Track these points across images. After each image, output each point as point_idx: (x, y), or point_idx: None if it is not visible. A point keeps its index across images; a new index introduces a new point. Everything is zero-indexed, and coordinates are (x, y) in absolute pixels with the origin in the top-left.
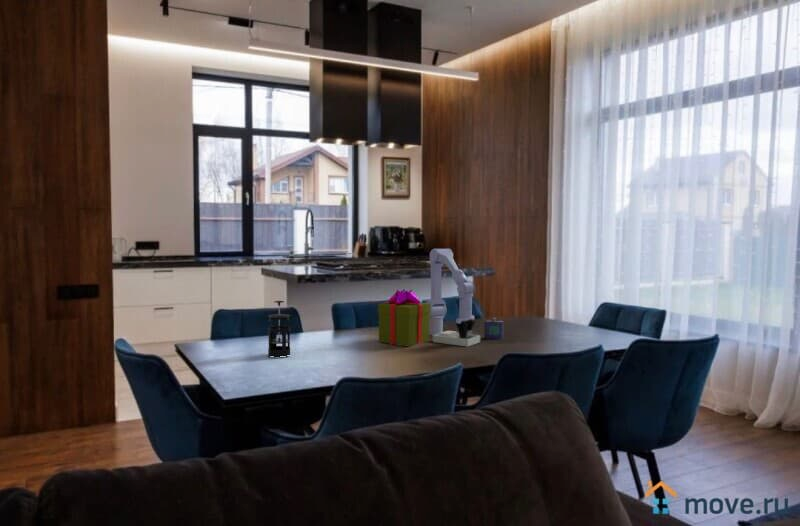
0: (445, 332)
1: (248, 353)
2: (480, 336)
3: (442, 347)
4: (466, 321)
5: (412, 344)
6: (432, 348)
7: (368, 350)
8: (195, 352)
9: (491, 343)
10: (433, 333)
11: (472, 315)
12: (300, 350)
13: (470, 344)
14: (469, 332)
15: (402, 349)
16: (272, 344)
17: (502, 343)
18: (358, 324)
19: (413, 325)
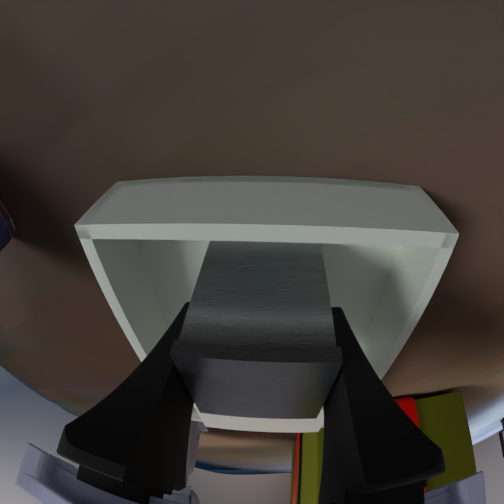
0: (281, 425)
1: (495, 427)
2: (81, 217)
3: (448, 321)
4: (169, 486)
5: (440, 396)
6: (475, 337)
7: (494, 398)
8: (485, 438)
9: (58, 98)
10: (193, 423)
11: (37, 494)
12: (483, 426)
13: (361, 190)
14: (271, 336)
15: (489, 376)
16: (501, 433)
17: (11, 43)
18: (210, 468)
19: (448, 469)
